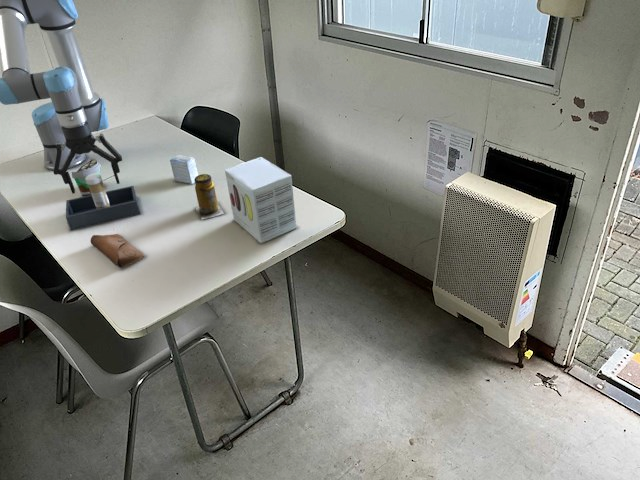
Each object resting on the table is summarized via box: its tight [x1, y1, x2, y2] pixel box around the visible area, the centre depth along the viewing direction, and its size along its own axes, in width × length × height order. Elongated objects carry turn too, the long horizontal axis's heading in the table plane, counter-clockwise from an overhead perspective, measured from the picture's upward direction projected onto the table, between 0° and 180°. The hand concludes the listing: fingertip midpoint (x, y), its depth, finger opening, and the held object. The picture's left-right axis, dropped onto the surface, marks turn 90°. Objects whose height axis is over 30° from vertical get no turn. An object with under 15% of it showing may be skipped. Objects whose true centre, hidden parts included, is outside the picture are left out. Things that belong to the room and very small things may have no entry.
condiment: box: [194, 173, 225, 220], centre depth 163 cm, size 7×8×12 cm
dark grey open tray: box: [65, 185, 141, 231], centre depth 168 cm, size 12×22×5 cm, turn 112°
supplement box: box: [224, 156, 298, 244], centre depth 152 cm, size 17×13×18 cm
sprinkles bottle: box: [85, 174, 110, 209], centre depth 165 cm, size 5×5×13 cm
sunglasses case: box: [90, 233, 145, 269], centre depth 149 cm, size 18×7×7 cm
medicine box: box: [169, 154, 199, 185], centre depth 183 cm, size 8×4×9 cm, turn 65°
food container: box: [71, 157, 105, 197], centre depth 180 cm, size 12×6×10 cm, turn 168°
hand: (96, 187), depth 163 cm, fingers open, 13 cm apart
